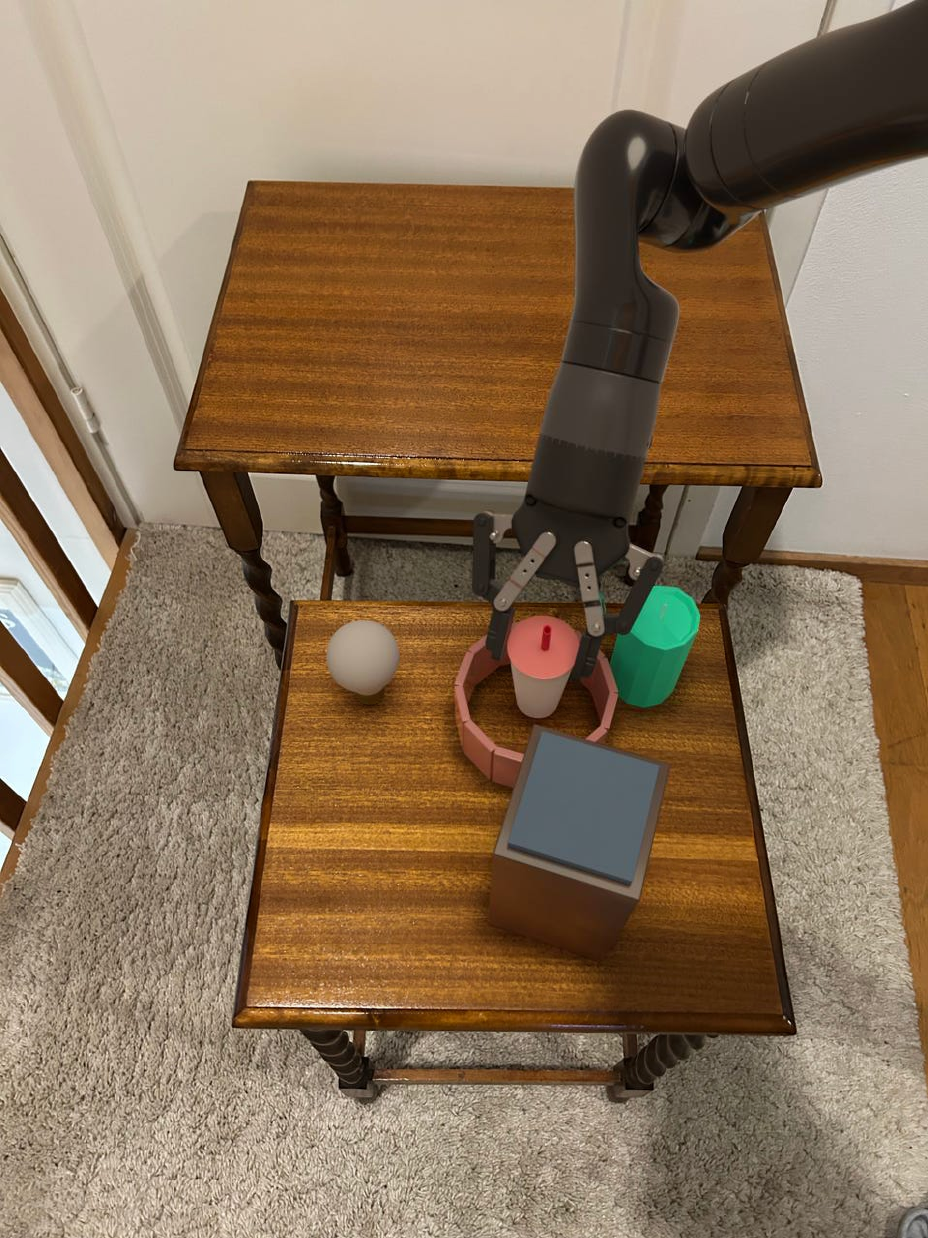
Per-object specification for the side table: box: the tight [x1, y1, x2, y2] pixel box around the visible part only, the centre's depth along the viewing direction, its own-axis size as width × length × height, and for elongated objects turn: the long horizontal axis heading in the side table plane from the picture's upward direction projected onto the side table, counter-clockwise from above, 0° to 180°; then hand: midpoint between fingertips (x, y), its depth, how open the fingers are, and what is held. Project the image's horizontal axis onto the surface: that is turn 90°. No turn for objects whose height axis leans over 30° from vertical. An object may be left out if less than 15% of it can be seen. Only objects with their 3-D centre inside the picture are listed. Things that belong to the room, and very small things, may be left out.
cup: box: [507, 615, 579, 719], centre depth 72 cm, size 5×5×12 cm
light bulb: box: [325, 619, 401, 705], centre depth 77 cm, size 6×6×10 cm
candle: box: [609, 585, 701, 709], centre depth 77 cm, size 6×6×12 cm
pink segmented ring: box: [453, 621, 619, 789], centre depth 78 cm, size 13×13×6 cm
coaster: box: [507, 731, 660, 885], centre depth 57 cm, size 8×8×1 cm
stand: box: [487, 723, 671, 963], centre depth 65 cm, size 9×9×18 cm
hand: (537, 667), depth 69 cm, fingers closed on cup, 5 cm apart
